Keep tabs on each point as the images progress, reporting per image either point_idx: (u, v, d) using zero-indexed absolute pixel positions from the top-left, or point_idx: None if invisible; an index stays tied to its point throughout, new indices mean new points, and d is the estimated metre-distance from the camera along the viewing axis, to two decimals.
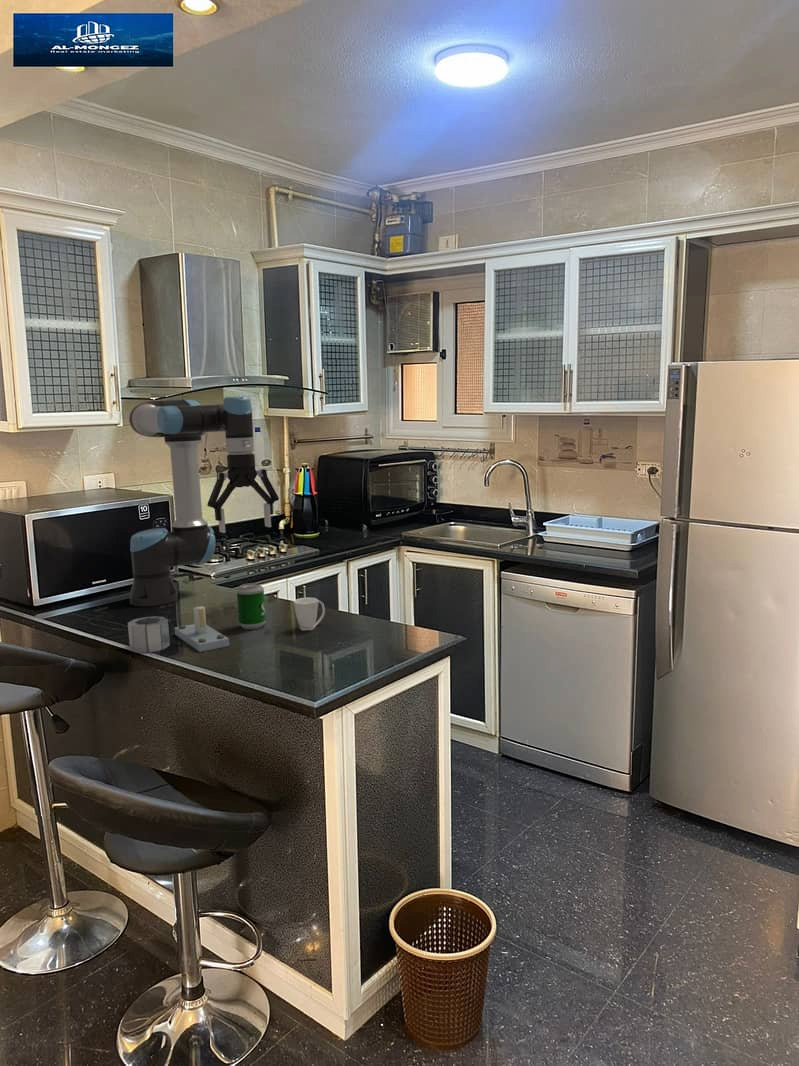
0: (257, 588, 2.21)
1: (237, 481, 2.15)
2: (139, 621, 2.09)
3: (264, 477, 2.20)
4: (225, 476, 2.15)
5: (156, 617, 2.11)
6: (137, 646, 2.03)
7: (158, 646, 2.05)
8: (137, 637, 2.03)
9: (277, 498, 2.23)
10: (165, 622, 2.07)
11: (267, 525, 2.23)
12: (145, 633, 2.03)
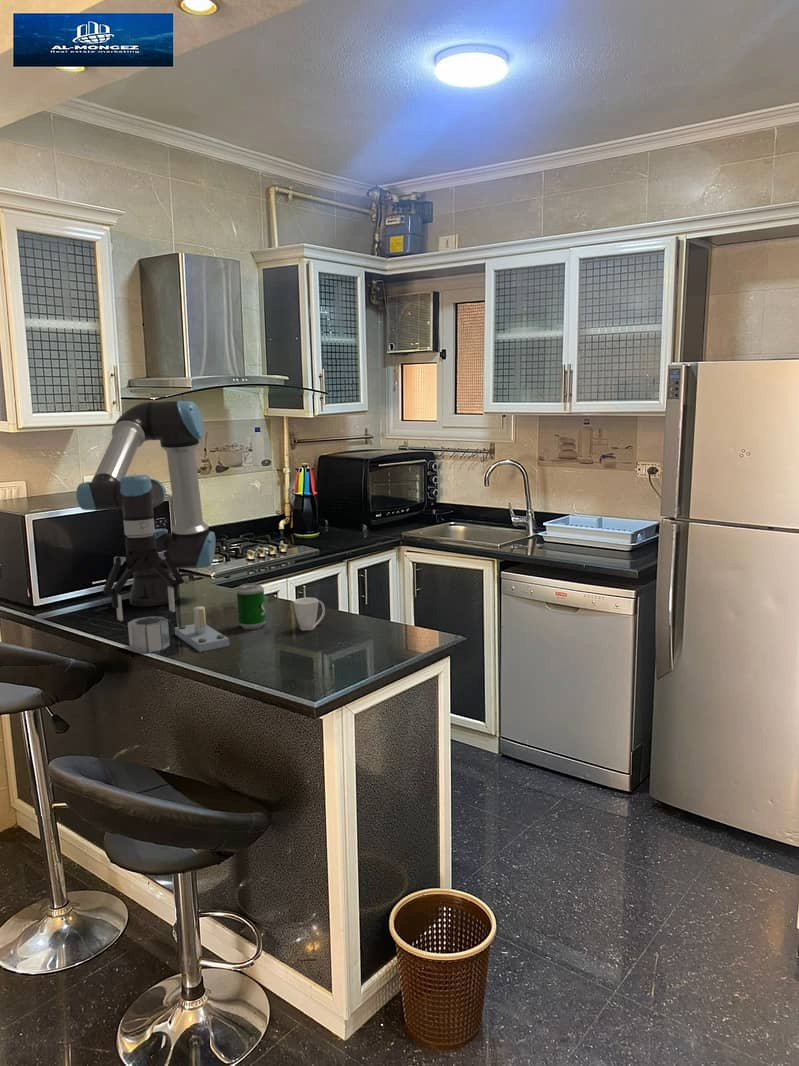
0: (257, 588, 2.21)
1: (135, 565, 2.02)
2: (139, 621, 2.09)
3: (167, 559, 2.07)
4: (122, 560, 2.01)
5: (156, 617, 2.11)
6: (137, 646, 2.03)
7: (158, 646, 2.05)
8: (137, 637, 2.03)
9: (182, 581, 2.09)
10: (165, 622, 2.07)
11: (171, 610, 2.09)
12: (145, 633, 2.03)
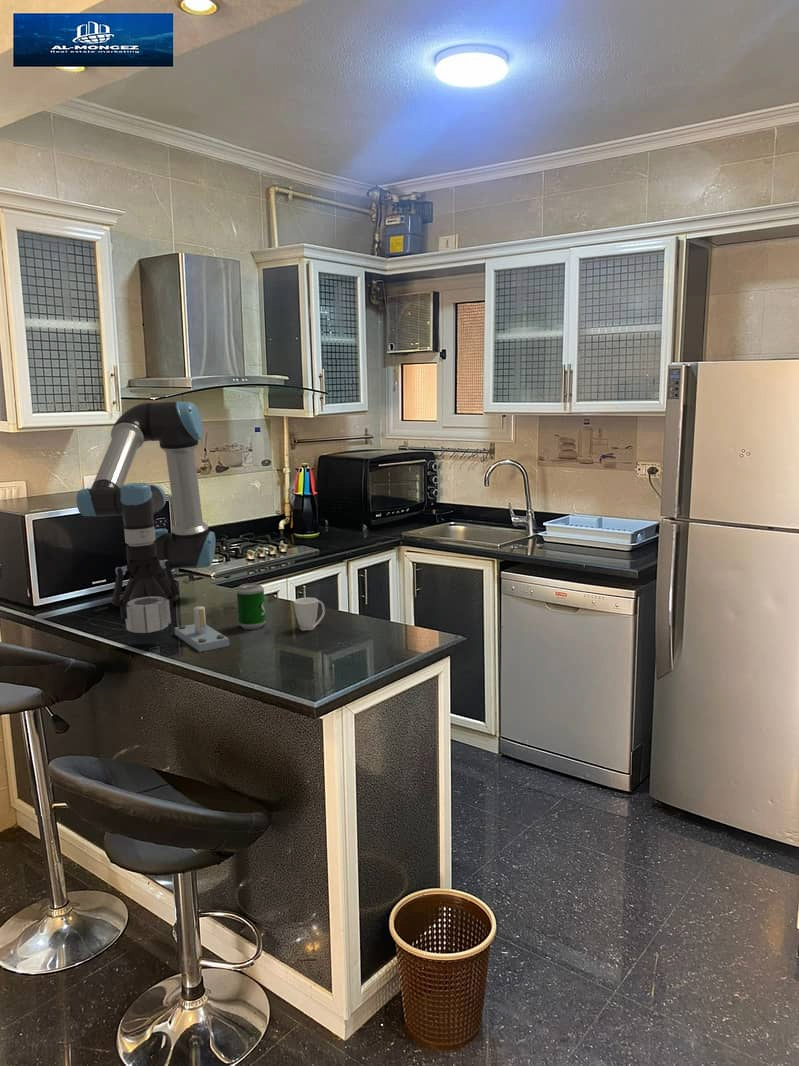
0: (257, 588, 2.21)
1: (138, 574, 2.03)
2: (138, 601, 2.08)
3: (167, 569, 2.07)
4: (124, 570, 2.02)
5: (155, 597, 2.10)
6: (136, 626, 2.03)
7: (157, 626, 2.05)
8: (136, 617, 2.03)
9: (177, 593, 2.10)
10: (164, 602, 2.06)
11: None
12: (144, 613, 2.03)
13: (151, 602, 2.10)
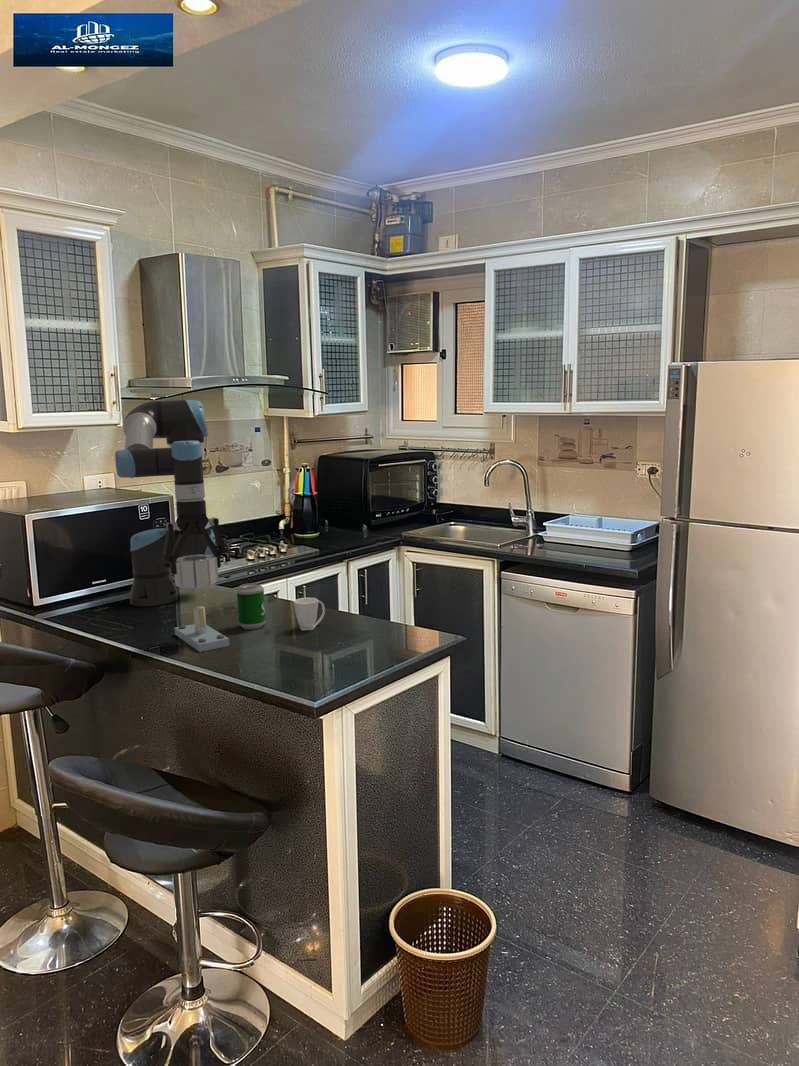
0: (257, 588, 2.21)
1: (187, 530, 2.05)
2: (186, 558, 2.11)
3: (215, 526, 2.10)
4: (174, 526, 2.04)
5: (202, 555, 2.13)
6: (185, 582, 2.06)
7: (206, 582, 2.07)
8: (185, 572, 2.05)
9: (225, 550, 2.12)
10: (212, 559, 2.09)
11: None
12: (193, 568, 2.05)
13: (199, 560, 2.12)
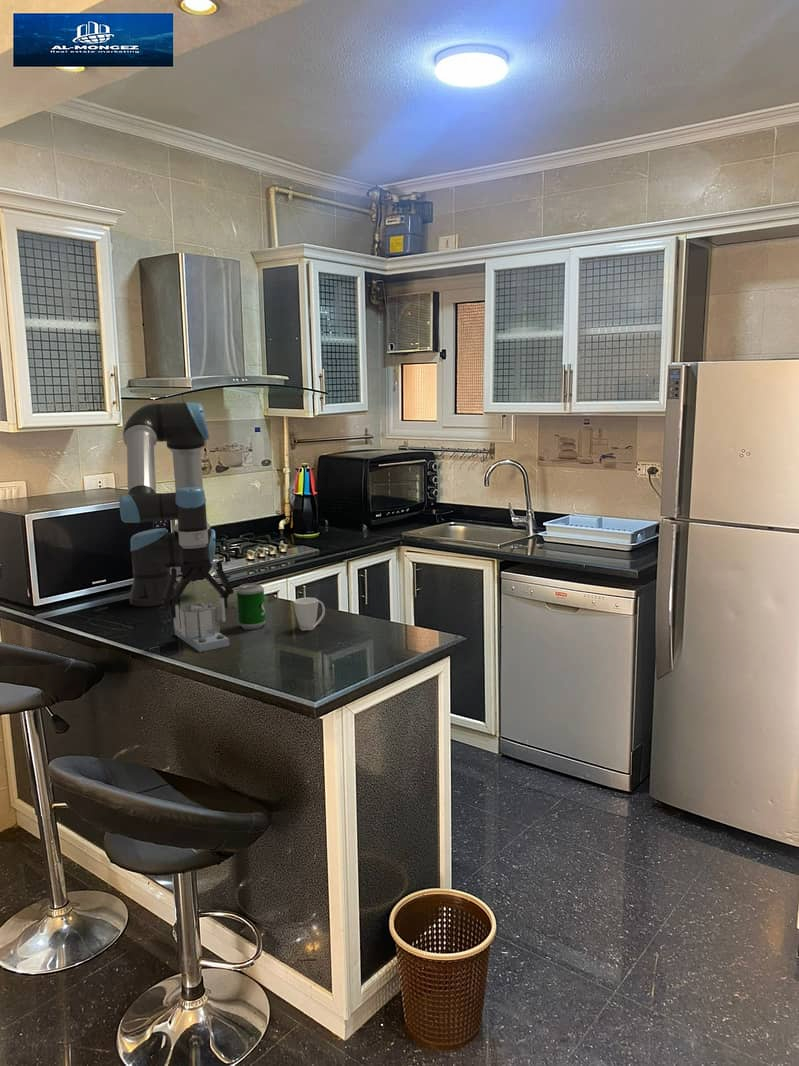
0: (257, 588, 2.21)
1: (190, 575, 2.07)
2: (190, 607, 2.13)
3: (219, 570, 2.12)
4: (178, 571, 2.06)
5: (206, 604, 2.15)
6: (189, 632, 2.08)
7: (210, 632, 2.09)
8: (189, 623, 2.07)
9: (232, 591, 2.15)
10: (216, 608, 2.11)
11: (221, 619, 2.15)
12: (197, 619, 2.07)
13: None
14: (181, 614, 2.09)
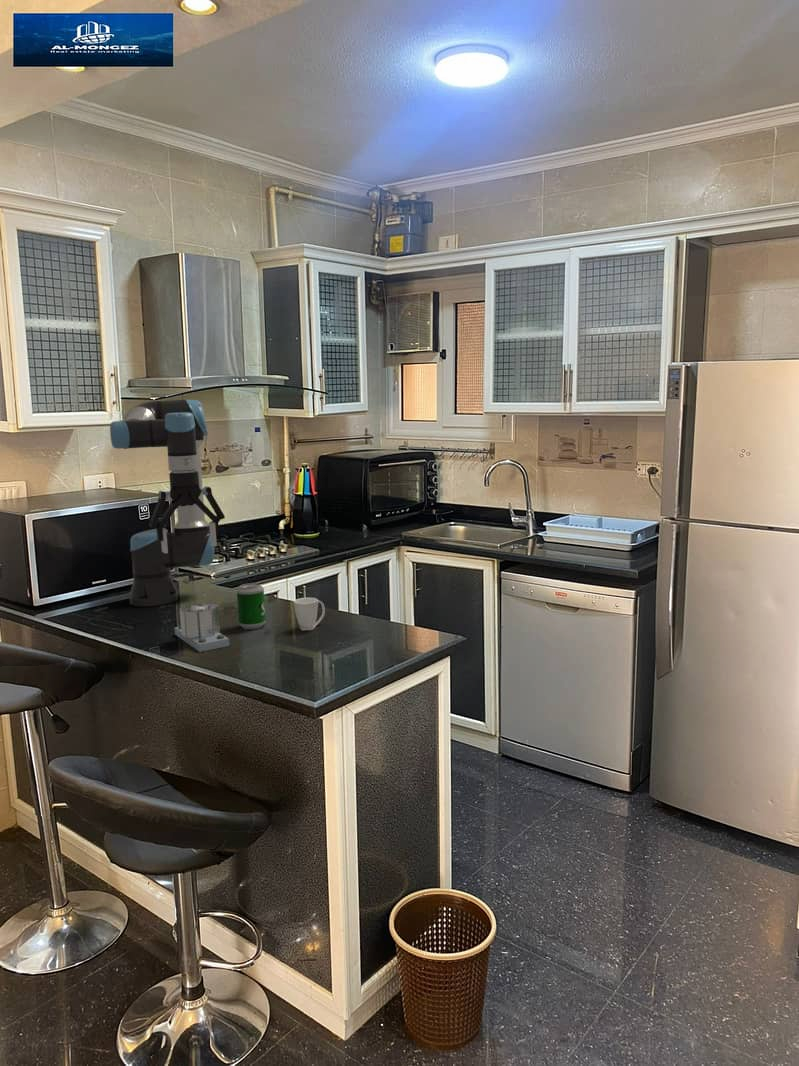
0: (257, 588, 2.21)
1: (180, 500, 2.08)
2: (190, 607, 2.13)
3: (209, 495, 2.13)
4: (167, 495, 2.08)
5: (206, 604, 2.15)
6: (189, 632, 2.08)
7: (210, 632, 2.09)
8: (189, 623, 2.07)
9: (223, 516, 2.16)
10: (216, 608, 2.11)
11: (212, 544, 2.17)
12: (197, 619, 2.07)
13: None
14: (181, 614, 2.09)
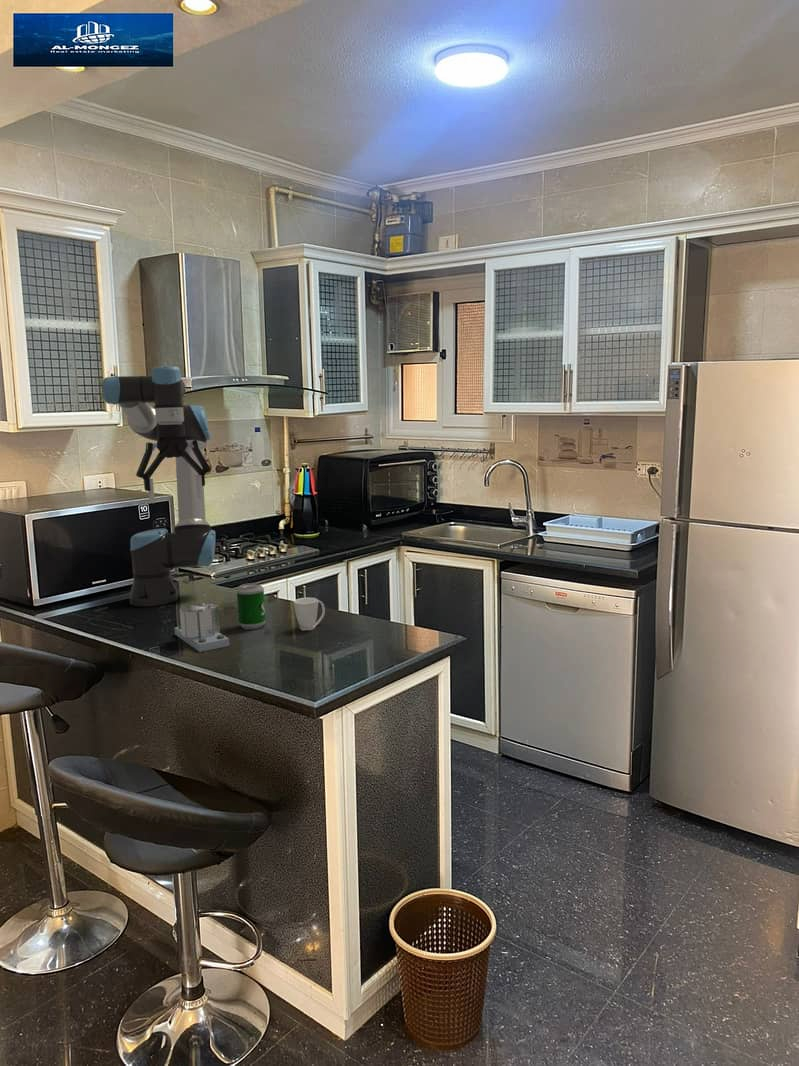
0: (257, 588, 2.21)
1: (166, 451, 2.15)
2: (190, 607, 2.13)
3: (195, 448, 2.20)
4: (154, 446, 2.14)
5: (206, 604, 2.15)
6: (189, 632, 2.08)
7: (210, 632, 2.09)
8: (189, 623, 2.07)
9: (209, 469, 2.23)
10: (216, 608, 2.11)
11: (199, 496, 2.23)
12: (197, 619, 2.07)
13: None
14: (181, 614, 2.09)
